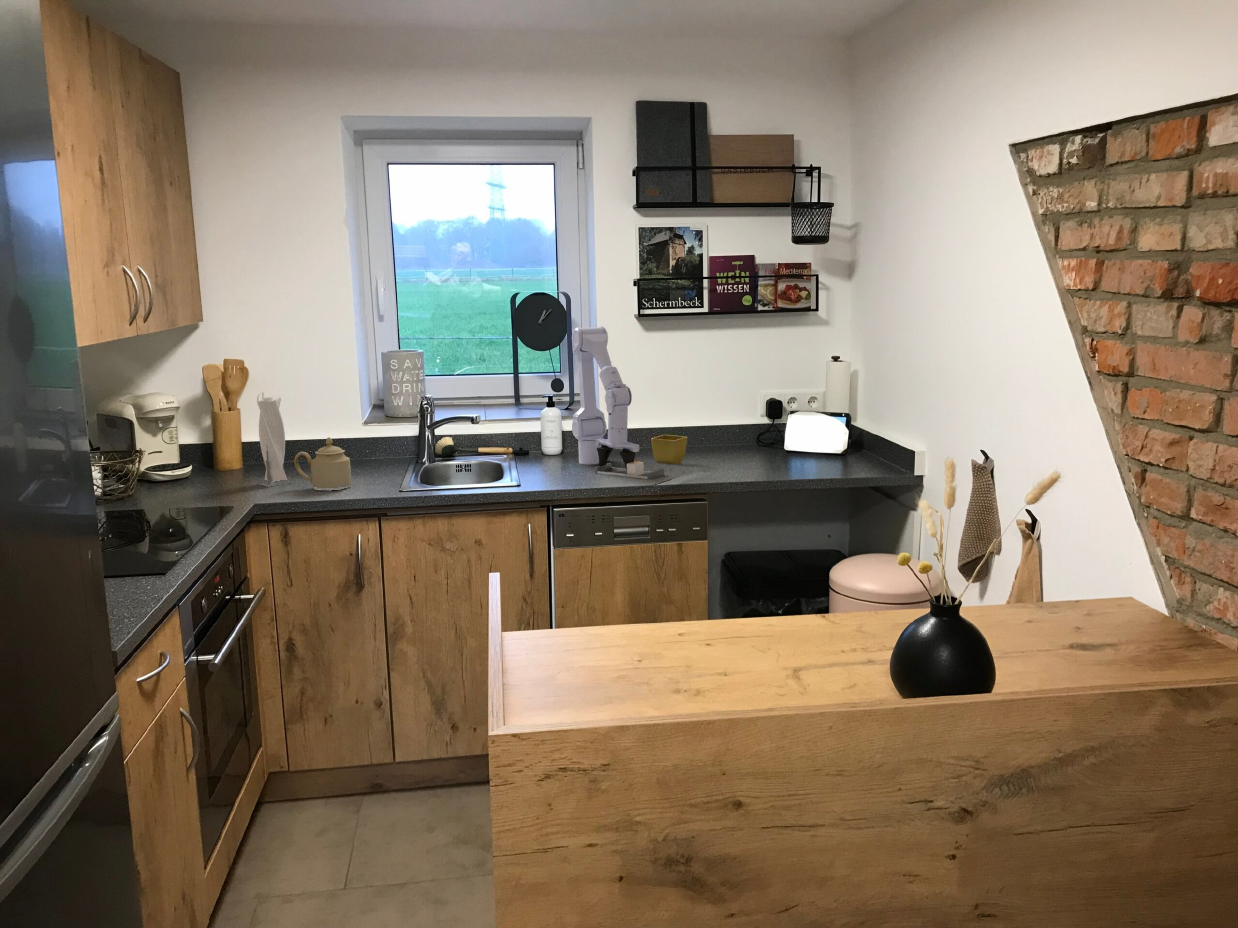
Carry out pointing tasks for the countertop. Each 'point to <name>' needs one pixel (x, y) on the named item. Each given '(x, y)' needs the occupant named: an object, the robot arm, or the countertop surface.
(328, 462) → the sugar bowl
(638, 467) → the fader knob
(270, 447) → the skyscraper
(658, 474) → the fader console
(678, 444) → the flower pot
